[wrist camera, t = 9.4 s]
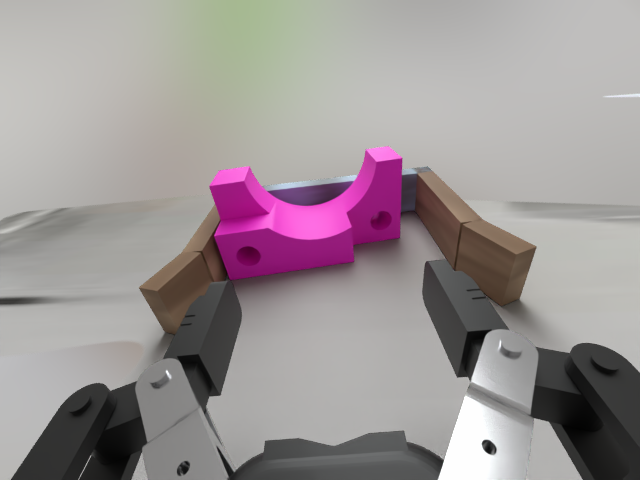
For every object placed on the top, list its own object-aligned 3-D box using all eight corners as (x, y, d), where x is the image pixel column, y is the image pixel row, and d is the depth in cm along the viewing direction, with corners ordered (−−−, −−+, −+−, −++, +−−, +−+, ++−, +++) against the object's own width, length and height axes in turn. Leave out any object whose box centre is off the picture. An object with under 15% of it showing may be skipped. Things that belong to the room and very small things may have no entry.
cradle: (161, 338, 20) (134, 293, 17) (223, 225, 33) (212, 192, 31) (524, 304, 18) (542, 251, 16) (437, 201, 32) (440, 164, 29)
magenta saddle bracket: (230, 282, 24) (200, 198, 20) (241, 242, 30) (219, 170, 26) (409, 255, 24) (414, 168, 20) (388, 220, 30) (388, 146, 26)
